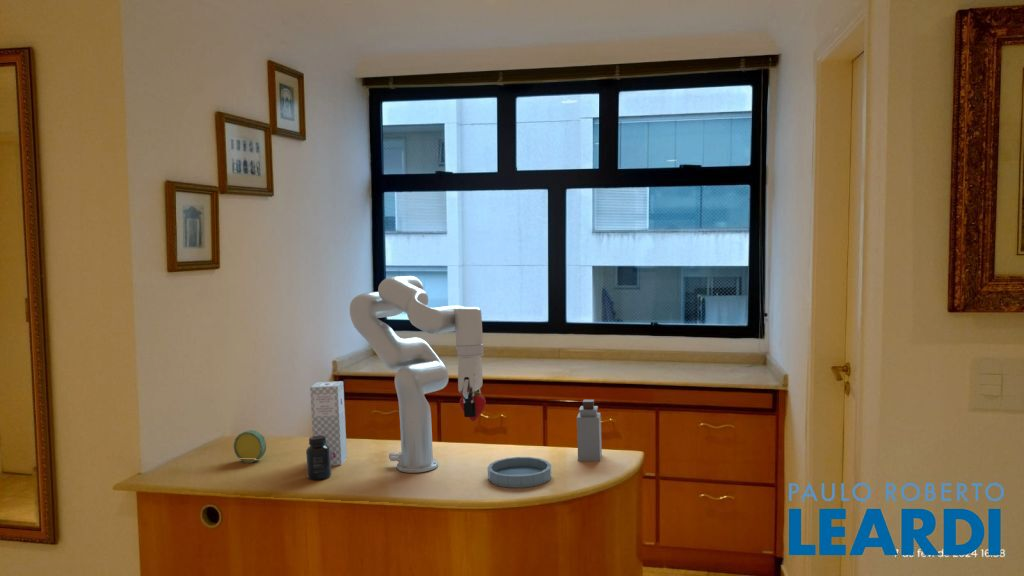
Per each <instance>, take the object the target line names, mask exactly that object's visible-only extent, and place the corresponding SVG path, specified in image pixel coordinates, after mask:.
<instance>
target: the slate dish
mask: <svg viewBox="0 0 1024 576" xmlns="http://www.w3.org/2000/svg"><path fill="white" fill-rule="evenodd" d="M487 477H488V482H489V483H491V484H492V485H494V486H497V487H501V488H510V489H526V488H533V487H539V486H541V485H544V484H546V483H548V482H549V481H550V480H551V479H552V464H551V463H550V462H549V461H548V460H545V459H543V458H538V457H533V456H532V457H531V456H514V457H506V458H502V459H501V458H500V459H498V460H495V461H493V462H490V463H489V465H488V466H487Z"/></svg>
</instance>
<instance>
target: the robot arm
mask: <svg viewBox="0 0 1024 576" xmlns="http://www.w3.org/2000/svg"><path fill="white" fill-rule="evenodd" d="M377 289H378V290H377V291H371V292H363V293H360V294H358V295H355V297H353V298H352V300H351V301H350V304H349V316H350V320H351V322H352V324H353V327H354V328H355V330H356V331H357V332H358V333H359V334H360V335H361V337H363V338H364V340H365V341H366V342H367V343H368V344H369V345H370V346H371V349H372V350H373V351H374V352H375V354H376V355H377V356H378V358H379V359H380V360H381V362H382V363H383V365H385V367H386V368H387V369H389V370H390V371H397V372H396V373H395V375H394V387H395V392H396V395H397V400H398V409H399V412H398V413H399V428H400V448H401V449H400V450H401V451H400V452H397V453H396V452H389V454H388V459H389V460H390V462H391V461H392V462H395V461H397V464H396V469H397V470H398V471H400V472H403V473H409V474H416V473H425V472H429V471H432V470H435V469H436V468H438V466H439V461H438V460H437V459H435V458H434V453H433V450H434V449H433V432H432V431H433V430H432V411H431V406H430V405H431V404H430V403H429V401H428V400H427V399H426V396H425V395H426V394H430V393H434V392H437V391H440V390H443V389H444V388H445V387H447V385H448V383H449V379H450V378H449V372H448V369H447V367H446V365H445V363H444V362H443V361H442V360H441V359H440V358H439V355H438V354H436V352H435V351H434V350H433V348H432V347H431V345H429V343H428V342H427V341H426V340H424V339H423V338H421V337H416V336H414V337H407V338H402V337H400V336H398V334H397V333H396V332H395V331H394V329H393V328H392V327H391V326H390V325H389V324H387V323H386V322H384V321H382V320H380V319H381V318H389V317H395V316H398V315H400V314H402V313H403V312H404V313H406V314H407V318H408V320H409V322H410V323H411V325H412V326H414V327H415V328H416V329H419V330H420V331H423V332H424V333H426V334H429V335H439V334H447V333H454V332H455V345H456V346H455V348H456V357H457V358H458V363H457V365H458V367H457V383H458V384H457V388H458V389H457V391H458V392H459V393H462V396H464V397H463V398H464V400H463V402H464V411H463V414H464V418H469V417H475V416H476V407H475V402H474V392H476V391H477V392H480V393H481V394H479V395H482V392H481V391H482V390H481V388H482V387H483V366H482V357H483V356H484V341H483V340H484V339H483V337H484V336H483V335H484V334H483V319H482V309H481V308H480V307H478V306H463V305H455V304H453V305H446V306H437V307H431V306H428V304H429V295H428V294H427V292H426V291H425V289H424V286H423V283H422V281H421V280H420V279H419V278H417V277H416V276H413V275H405V276H404V275H402V276H399V275H398V276H389V277H386V278H384V279H383V280H381V282H380V283H379V284H378V288H377ZM469 394H471V396H470V395H469Z"/></svg>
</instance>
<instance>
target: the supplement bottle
mask: <svg viewBox="0 0 1024 576" xmlns="http://www.w3.org/2000/svg"><path fill="white" fill-rule="evenodd" d="M308 442H309V443H308V445H309V446H308V447H307V448H306V456H305V457H306V471H307V472H306V473H307V478H308V479H309V480H312V481H321V480H325V479H328V478H330V477H331V476H332V466H331V461H330V448H329V446H328V445H326V444H325V443H326V437H325V436H313V435H312V436H310V437H309V438H308Z"/></svg>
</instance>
